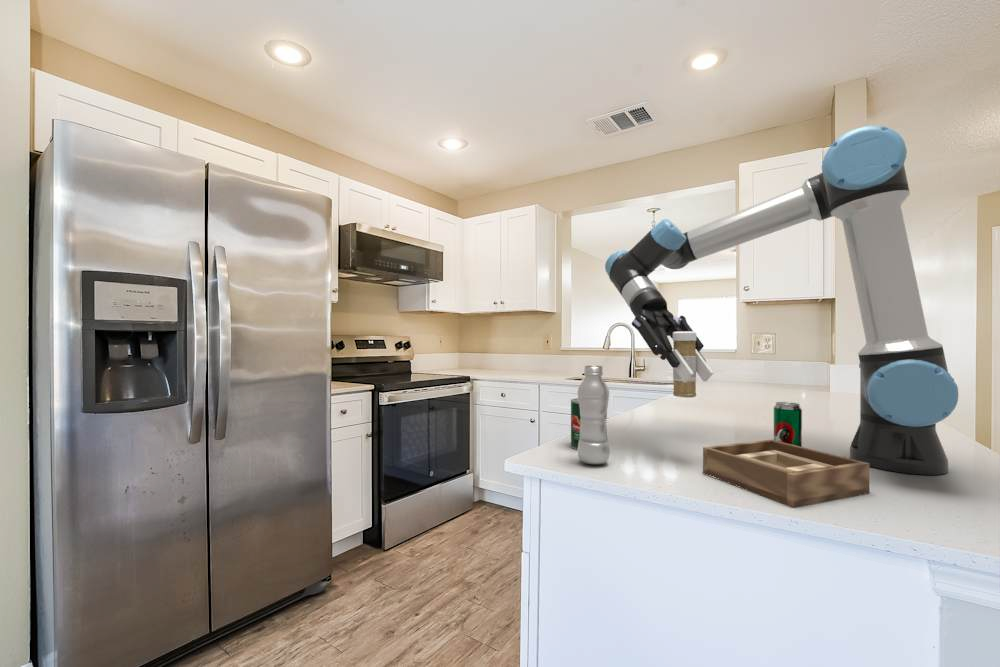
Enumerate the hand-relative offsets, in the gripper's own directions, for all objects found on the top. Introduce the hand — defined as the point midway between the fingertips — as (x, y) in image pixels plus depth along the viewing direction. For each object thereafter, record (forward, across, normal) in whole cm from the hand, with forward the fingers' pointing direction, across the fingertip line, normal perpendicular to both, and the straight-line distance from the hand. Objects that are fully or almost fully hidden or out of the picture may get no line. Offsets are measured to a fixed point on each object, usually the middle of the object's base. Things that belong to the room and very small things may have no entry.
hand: (698, 377), depth 90 cm
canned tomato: (-3, +12, -28) cm, 31 cm away
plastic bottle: (+6, +18, -20) cm, 27 cm away
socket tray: (+21, -7, -4) cm, 23 cm away
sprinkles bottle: (0, 0, -6) cm, 6 cm away
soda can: (+14, -22, -11) cm, 29 cm away
